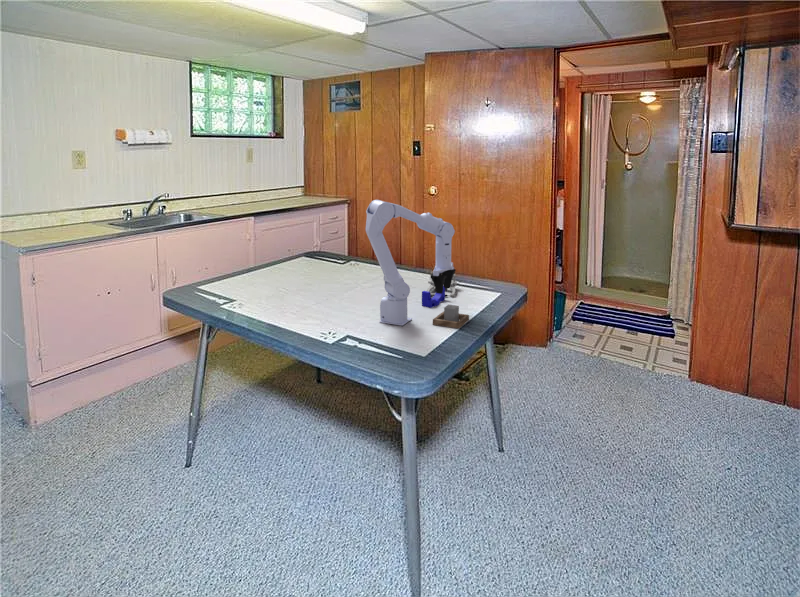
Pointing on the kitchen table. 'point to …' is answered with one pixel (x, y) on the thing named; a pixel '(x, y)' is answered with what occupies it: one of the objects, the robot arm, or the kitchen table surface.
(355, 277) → the kitchen table surface
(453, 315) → the grey block
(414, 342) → the kitchen table surface
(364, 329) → the kitchen table surface
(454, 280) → the bike brake
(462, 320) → the brown square frame
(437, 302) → the cable clip
